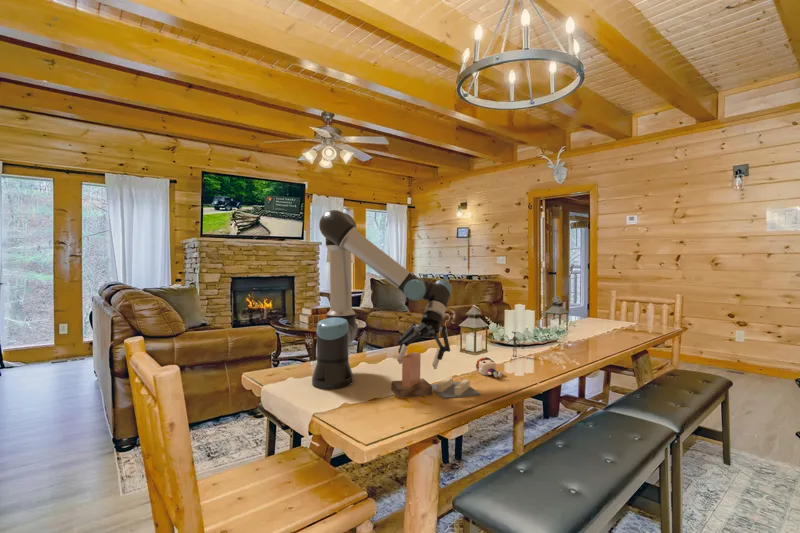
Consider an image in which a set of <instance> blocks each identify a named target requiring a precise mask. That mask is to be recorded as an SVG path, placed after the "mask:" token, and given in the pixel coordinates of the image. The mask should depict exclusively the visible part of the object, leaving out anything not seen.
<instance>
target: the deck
mask: <svg viewBox="0 0 800 533" xmlns="http://www.w3.org/2000/svg"><path fill="white" fill-rule="evenodd" d="M390 390H391V392H393V394H394V395H395V396H396V398H397V399H404V398H405V399H406V398H416V397H427V396H433V390H432V386H431V385H430V383H429V382H428V381H427V380H426V379H424V378H420V382H418V383H417V384H415V385H414V386H412V387H410V388H408V387H403V386H402V379H401V380H391V383H390Z"/></svg>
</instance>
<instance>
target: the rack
mask: <svg viewBox="0 0 800 533" xmlns="http://www.w3.org/2000/svg"><path fill="white" fill-rule="evenodd" d="M453 379H454V378H453V377H452V376H447V377H445V378H443V379H442V380H441V381H439V382H438V383H434V384H433V383H432V384H430V383H429V384H430V385H431V386H432V392H434V393H435V394H436V395H437V396H438V397H440V398H441V399H442V400H446V399H455V398H456V399H457V398H467V397H475V396H482V394H481V393H480V392H479V391H477V390H476V389H474V387H472V386H471V385H470V384H471V383H470V382H471V380H470V379H463V380H461V381H454V382H453Z"/></svg>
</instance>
